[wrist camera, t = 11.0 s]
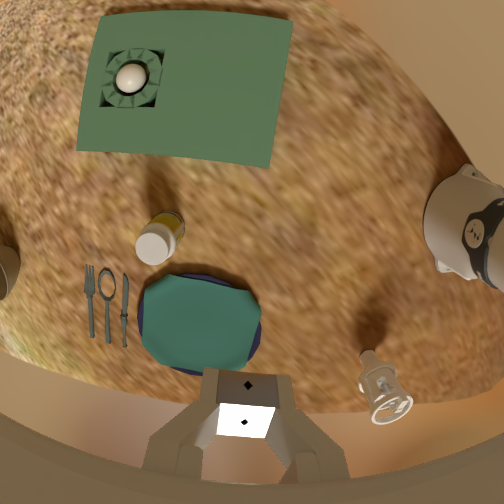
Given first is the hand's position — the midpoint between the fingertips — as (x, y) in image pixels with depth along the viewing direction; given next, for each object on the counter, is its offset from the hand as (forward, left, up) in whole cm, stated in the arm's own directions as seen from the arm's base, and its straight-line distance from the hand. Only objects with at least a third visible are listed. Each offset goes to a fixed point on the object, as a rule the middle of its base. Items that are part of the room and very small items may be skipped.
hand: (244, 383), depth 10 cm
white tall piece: (-26, +24, -31) cm, 47 cm away
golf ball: (+17, -15, -29) cm, 37 cm away
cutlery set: (+9, +20, -32) cm, 39 cm away
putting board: (+11, -15, -31) cm, 36 cm away
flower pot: (+42, +15, -31) cm, 54 cm away
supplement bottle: (+10, +5, -31) cm, 33 cm away
